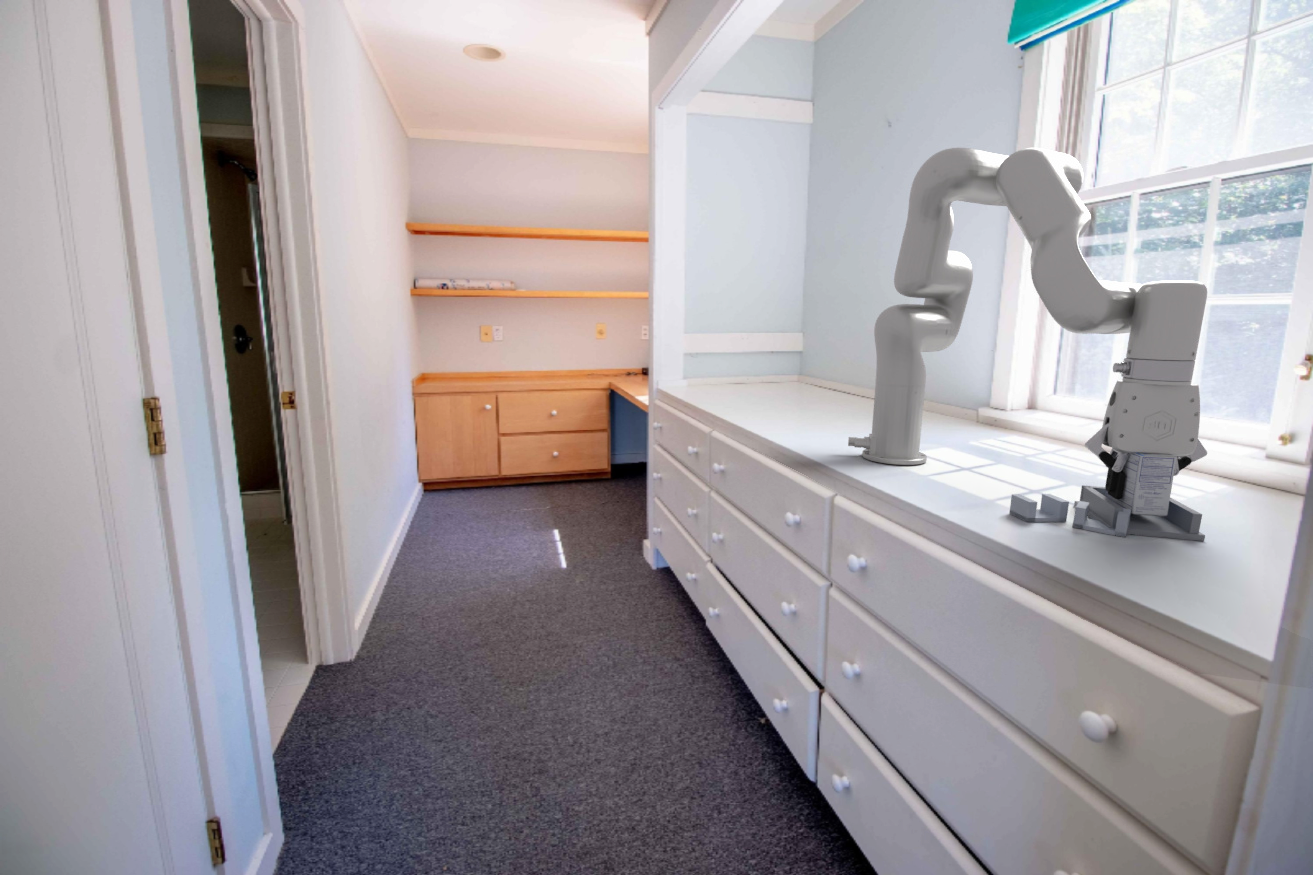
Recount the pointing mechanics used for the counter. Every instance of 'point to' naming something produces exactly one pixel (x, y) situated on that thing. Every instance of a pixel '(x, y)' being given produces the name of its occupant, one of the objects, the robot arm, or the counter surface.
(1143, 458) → the medicine box
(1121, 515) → the clip
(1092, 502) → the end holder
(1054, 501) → the clip
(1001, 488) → the counter surface
